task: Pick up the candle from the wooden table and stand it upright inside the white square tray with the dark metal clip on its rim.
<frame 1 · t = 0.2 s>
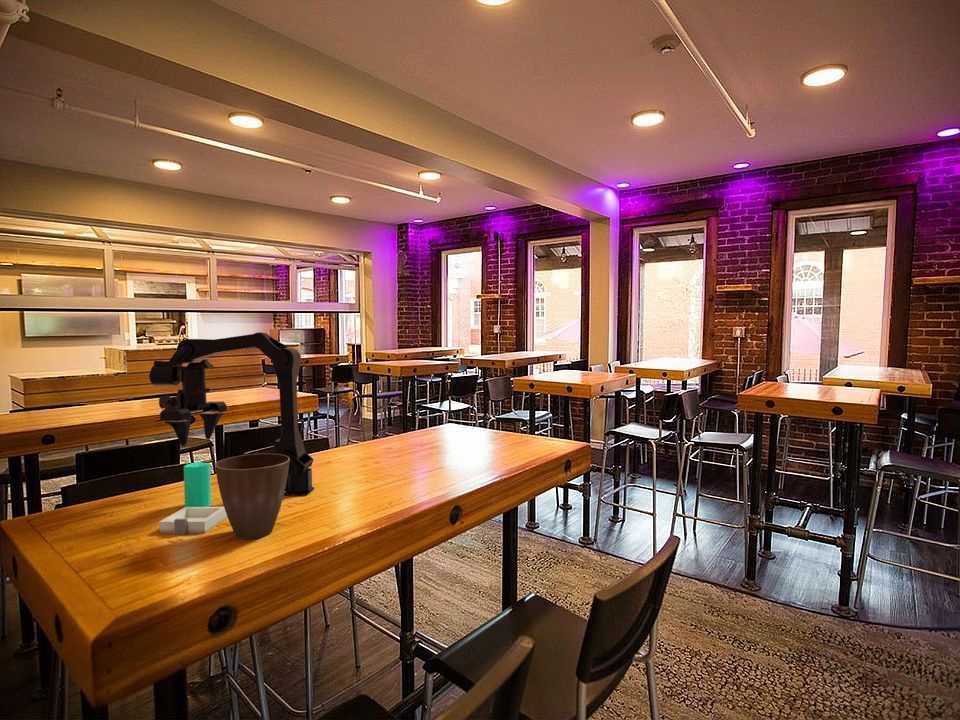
hand: (196, 442, 144), 14 cm above the table, tool pointing down, fingers open, 9 cm apart
candle: (198, 506, 135), on the table
plant pot: (255, 533, 115), on the table
white square tray: (195, 524, 120), on the table
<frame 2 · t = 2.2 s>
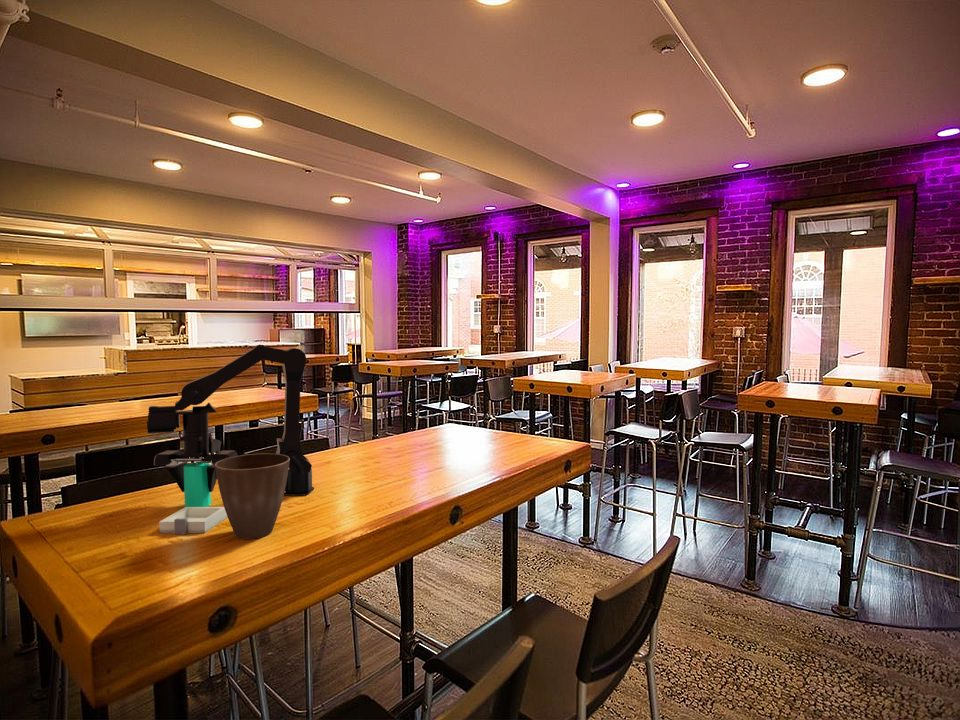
hand: (197, 491, 134), 4 cm above the table, tool pointing down, fingers closed on candle, 7 cm apart
candle: (198, 506, 135), on the table, touching gripper
everything else where it was.
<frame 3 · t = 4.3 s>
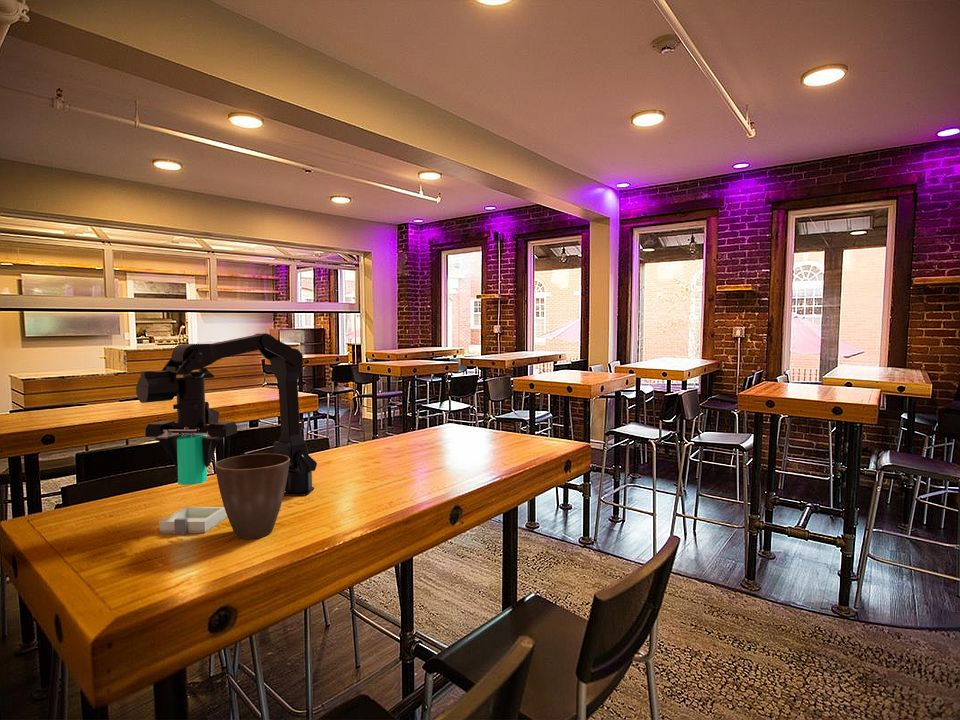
hand: (192, 466, 121), 13 cm above the table, tool pointing down, fingers closed on candle, 7 cm apart
candle: (192, 482, 122), point 9 cm above the table, touching gripper
everything else where it was.
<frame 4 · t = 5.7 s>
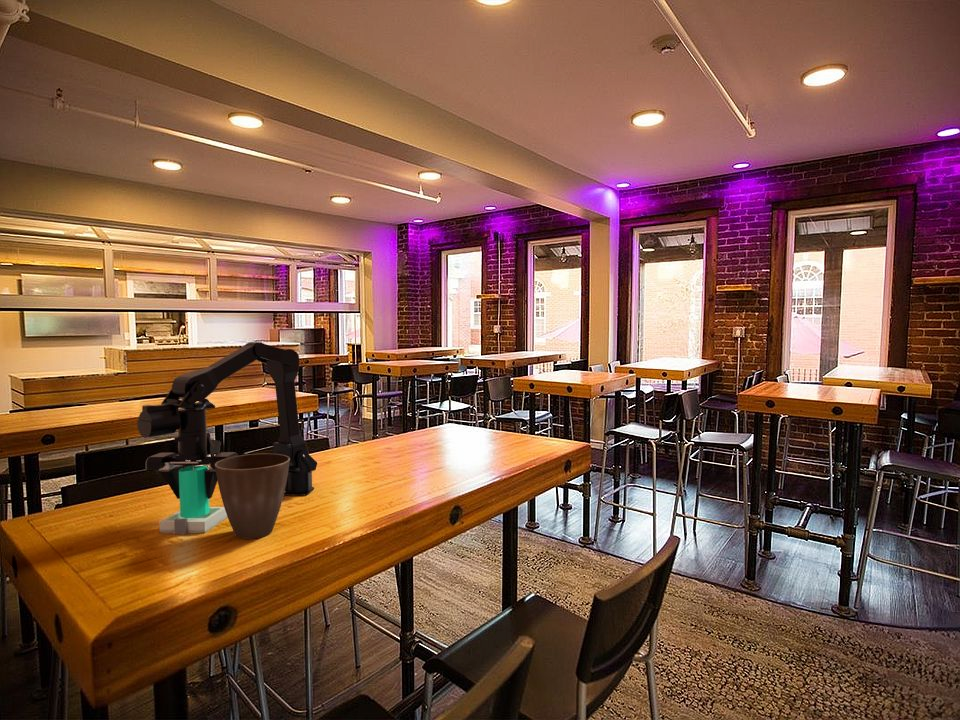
hand: (194, 498, 120), 6 cm above the table, tool pointing down, fingers closed on candle, 7 cm apart
candle: (195, 514, 120), point 2 cm above the table, touching gripper
everything else where it was.
when the fingers open (5 cm above the table, at t = 6.6 s): candle drops 1 cm, resting on white square tray.
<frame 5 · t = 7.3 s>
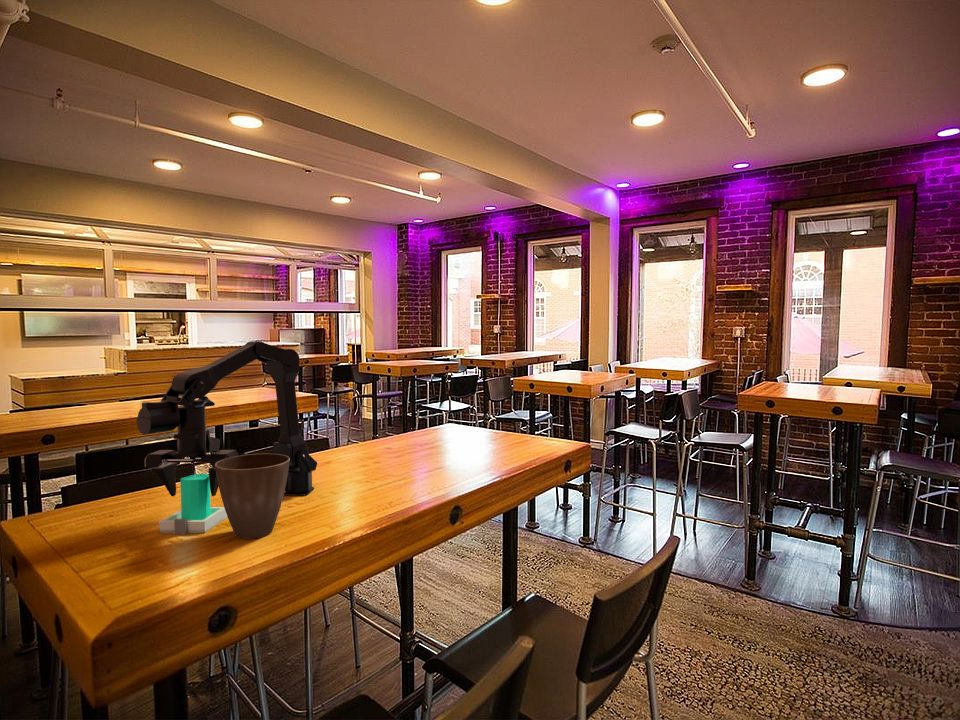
hand: (193, 495, 120), 7 cm above the table, tool pointing down, fingers open, 9 cm apart
candle: (196, 523, 120), resting on white square tray
everything else where it was.
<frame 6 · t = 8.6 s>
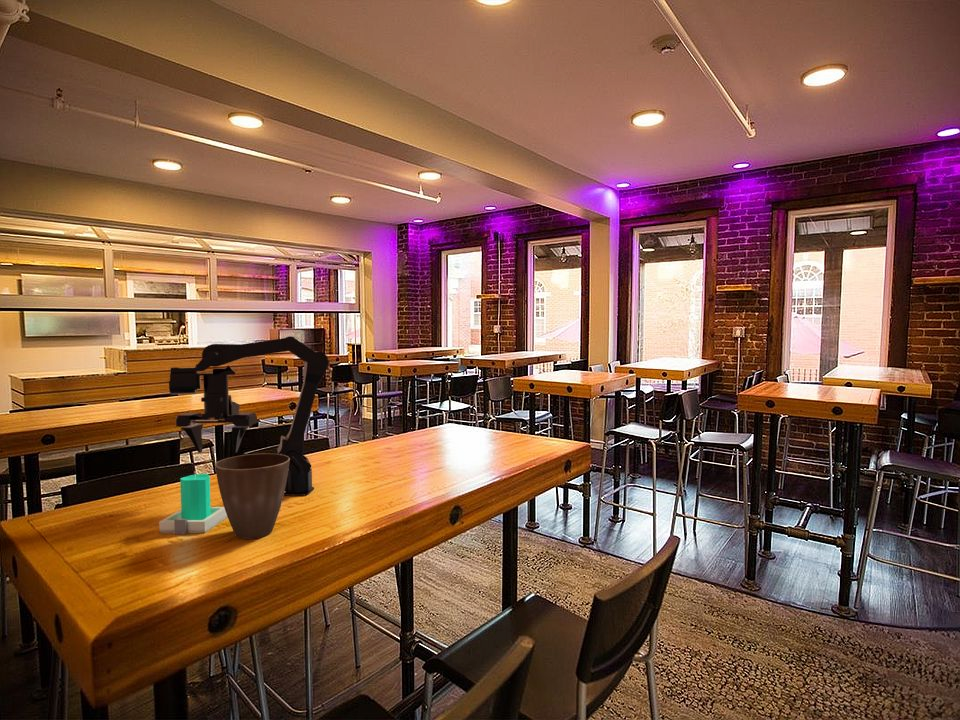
hand: (218, 452, 137), 13 cm above the table, tool pointing down, fingers open, 9 cm apart
nothing on the table moved.
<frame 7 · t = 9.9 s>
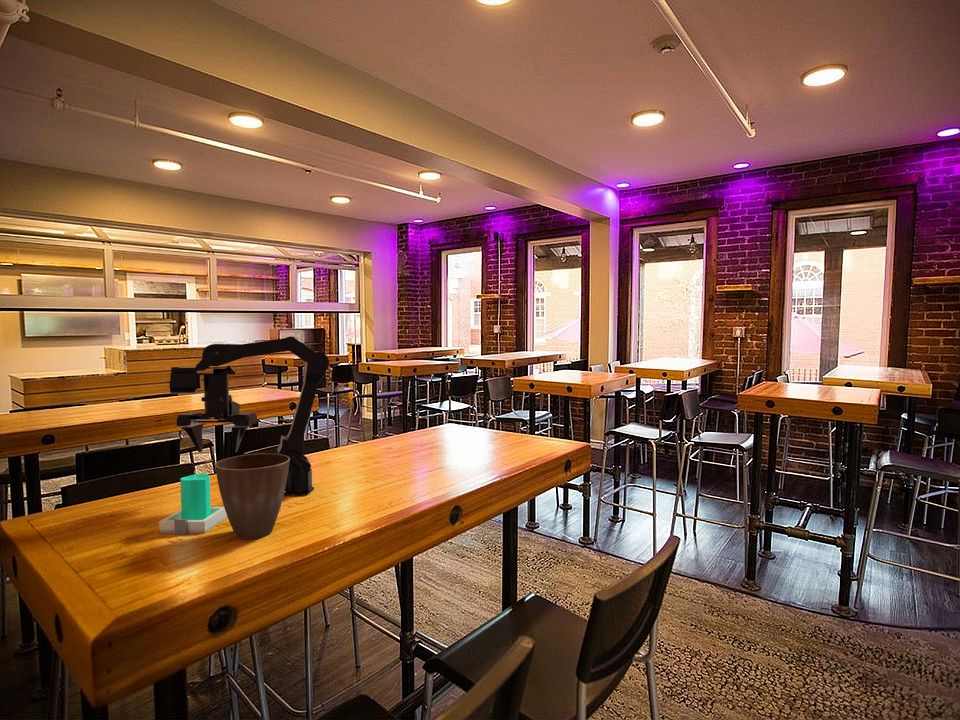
hand: (218, 452, 137), 13 cm above the table, tool pointing down, fingers open, 9 cm apart
nothing on the table moved.
at the end: candle 0.4 cm off-centre on the white square tray, point 0.4 cm above the white square tray's base; candle tilted 0°; the gripper is holding nothing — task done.
